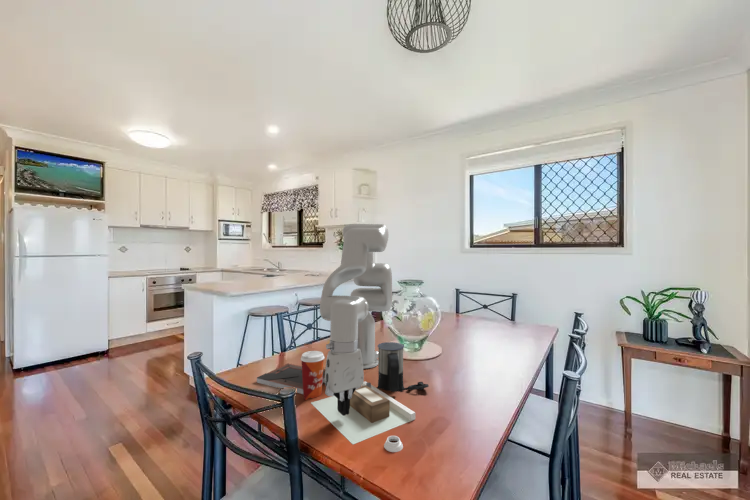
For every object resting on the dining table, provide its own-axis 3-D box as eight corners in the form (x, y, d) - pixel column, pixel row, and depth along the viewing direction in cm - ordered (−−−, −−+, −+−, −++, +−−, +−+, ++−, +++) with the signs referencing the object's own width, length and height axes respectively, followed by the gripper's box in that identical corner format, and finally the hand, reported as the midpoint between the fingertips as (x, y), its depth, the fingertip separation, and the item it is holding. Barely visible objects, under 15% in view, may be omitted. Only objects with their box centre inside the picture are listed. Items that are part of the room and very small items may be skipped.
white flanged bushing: (386, 443, 78) (379, 455, 73) (386, 431, 78) (380, 443, 73) (406, 448, 76) (400, 460, 72) (406, 435, 76) (400, 447, 72)
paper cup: (313, 405, 97) (313, 359, 97) (295, 399, 101) (295, 355, 101) (329, 395, 103) (329, 352, 103) (312, 389, 107) (312, 348, 107)
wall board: (365, 390, 107) (365, 374, 107) (415, 423, 87) (415, 404, 87) (310, 406, 96) (310, 389, 96) (352, 449, 75) (352, 427, 75)
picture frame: (256, 384, 113) (305, 396, 104) (256, 377, 113) (305, 389, 104) (288, 368, 128) (332, 378, 119) (288, 362, 128) (332, 371, 119)
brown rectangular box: (349, 405, 94) (349, 389, 94) (365, 399, 98) (365, 384, 98) (371, 423, 85) (371, 405, 85) (389, 416, 88) (389, 399, 88)
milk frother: (373, 385, 111) (373, 343, 111) (412, 378, 117) (412, 338, 117) (390, 403, 98) (390, 355, 98) (433, 394, 104) (433, 349, 104)
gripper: (325, 354, 79) (324, 427, 79) (374, 344, 88) (373, 411, 87) (313, 346, 85) (312, 415, 85) (359, 338, 94) (359, 400, 93)
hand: (343, 412), depth 86 cm, fingers closed
